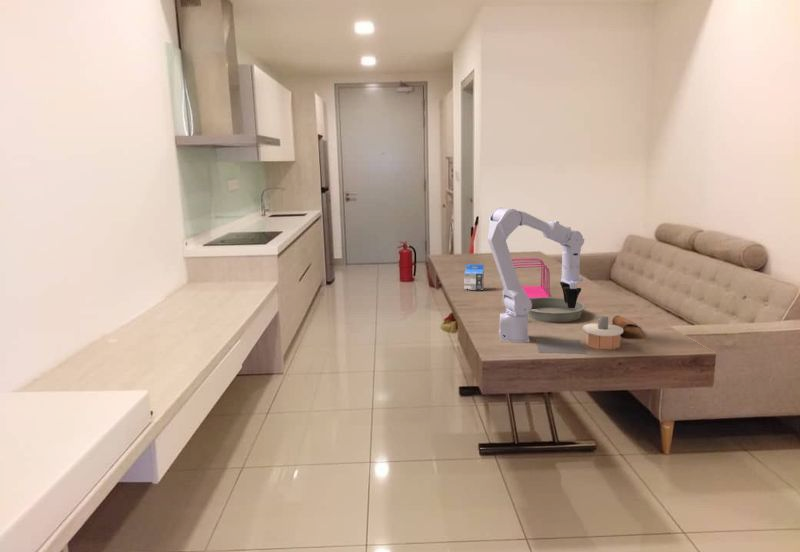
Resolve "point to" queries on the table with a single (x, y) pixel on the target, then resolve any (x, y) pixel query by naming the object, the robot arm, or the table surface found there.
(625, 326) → the sunglasses case
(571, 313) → the cake pan
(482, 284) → the label tape box
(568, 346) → the mat
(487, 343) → the table surface
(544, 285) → the file sorter
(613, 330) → the lid
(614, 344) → the bowl
